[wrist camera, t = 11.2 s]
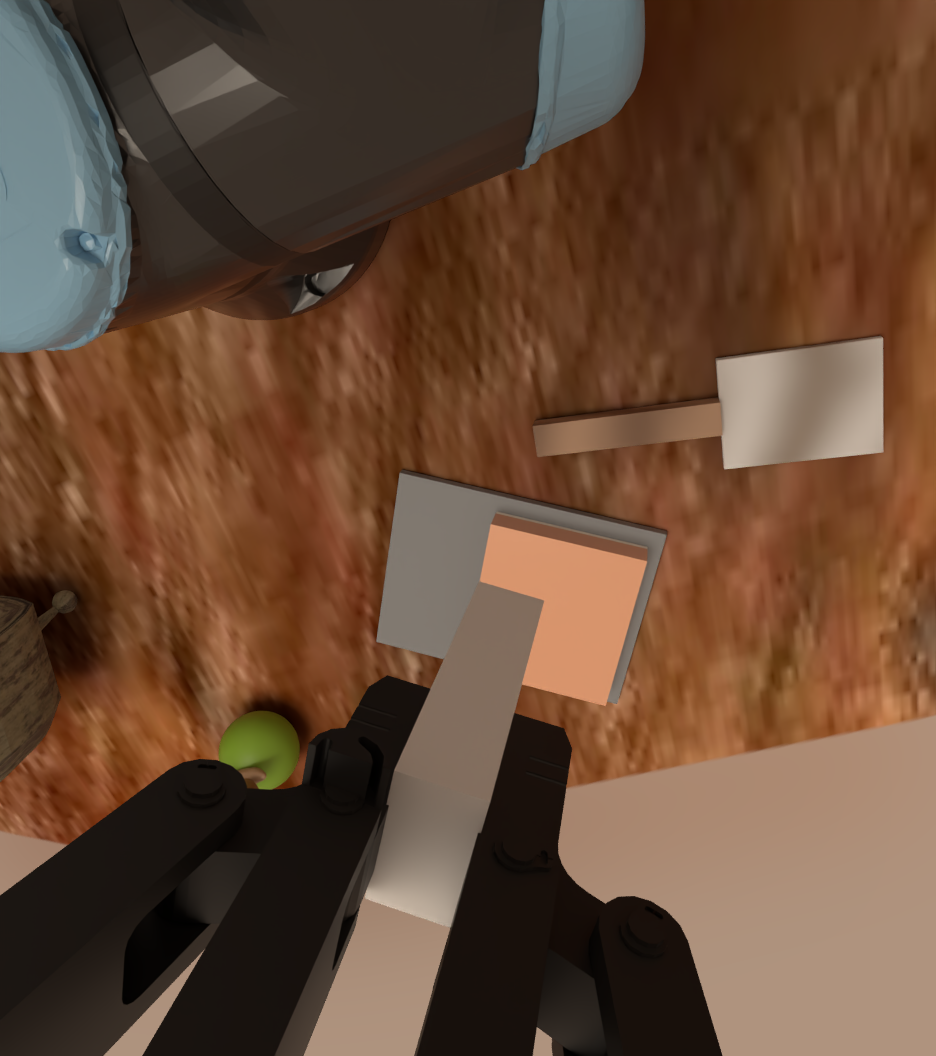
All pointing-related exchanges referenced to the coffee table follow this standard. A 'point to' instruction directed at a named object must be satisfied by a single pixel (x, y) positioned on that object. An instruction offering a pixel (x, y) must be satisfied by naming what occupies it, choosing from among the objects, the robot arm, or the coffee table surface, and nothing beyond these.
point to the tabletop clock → (26, 677)
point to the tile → (568, 599)
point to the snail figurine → (261, 748)
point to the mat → (474, 560)
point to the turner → (754, 409)
